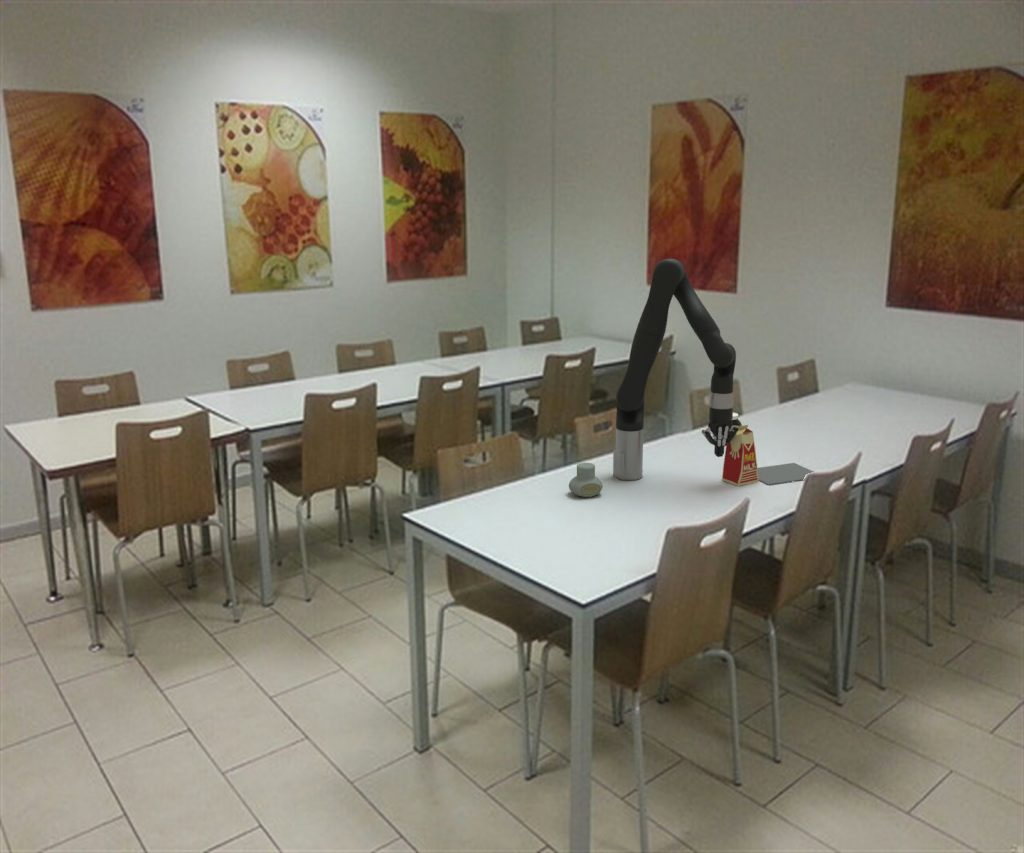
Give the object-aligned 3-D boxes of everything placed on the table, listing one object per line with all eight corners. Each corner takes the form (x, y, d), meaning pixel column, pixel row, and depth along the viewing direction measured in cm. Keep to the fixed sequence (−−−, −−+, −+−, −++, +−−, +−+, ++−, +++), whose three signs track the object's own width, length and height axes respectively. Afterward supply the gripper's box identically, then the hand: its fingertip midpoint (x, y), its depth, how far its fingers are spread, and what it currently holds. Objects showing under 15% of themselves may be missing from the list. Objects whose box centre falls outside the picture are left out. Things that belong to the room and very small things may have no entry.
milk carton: (758, 481, 288) (762, 424, 283) (739, 486, 283) (742, 428, 278) (738, 474, 295) (741, 418, 290) (718, 479, 291) (721, 422, 285)
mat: (768, 485, 284) (768, 484, 284) (740, 471, 298) (740, 470, 298) (823, 477, 291) (823, 476, 290) (794, 464, 305) (794, 462, 305)
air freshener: (574, 500, 274) (574, 470, 271) (565, 492, 282) (565, 463, 279) (606, 496, 277) (606, 467, 274) (596, 488, 284) (597, 459, 282)
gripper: (709, 409, 274) (707, 461, 279) (745, 405, 278) (742, 456, 283) (697, 404, 281) (695, 455, 285) (732, 400, 285) (730, 450, 289)
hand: (719, 456), depth 284 cm, fingers closed
